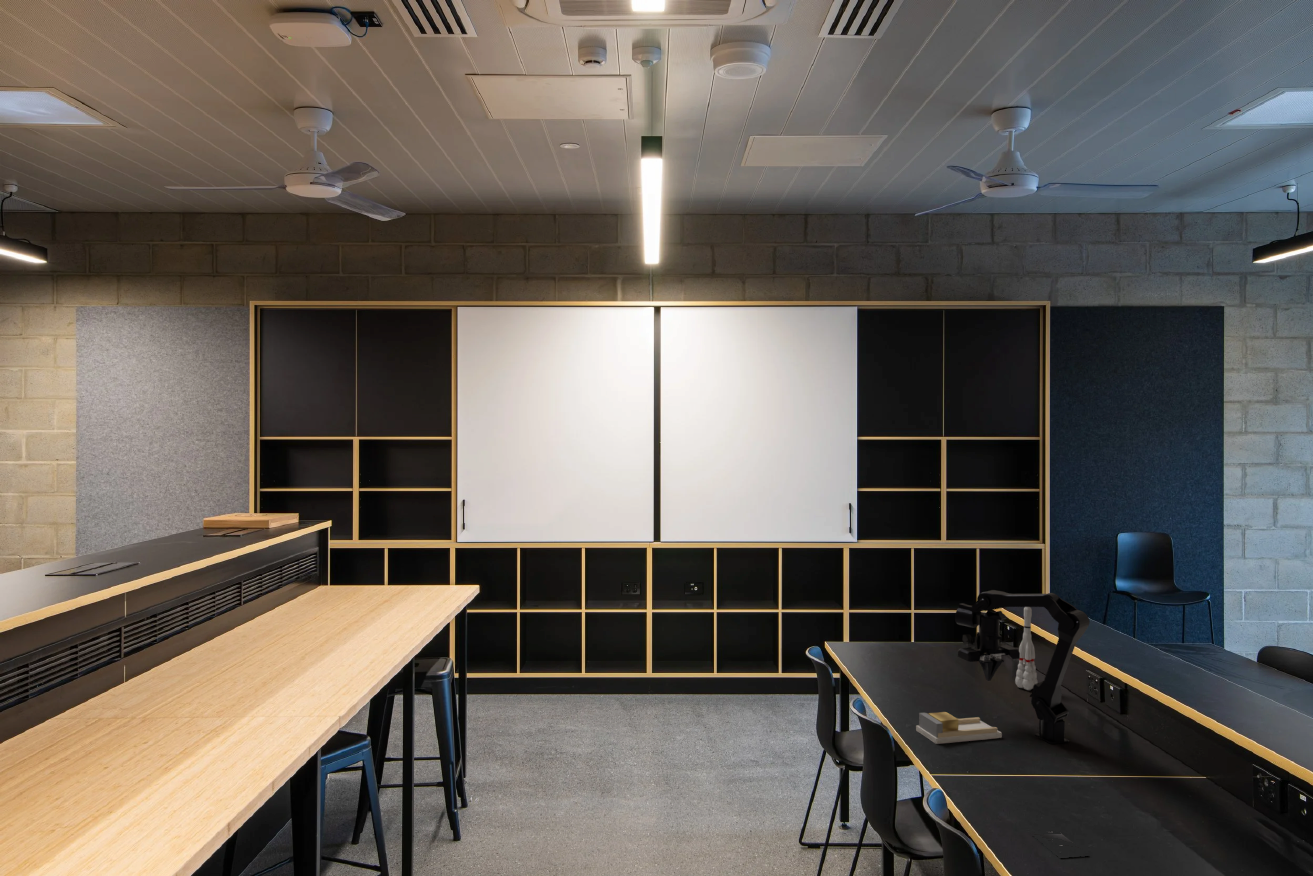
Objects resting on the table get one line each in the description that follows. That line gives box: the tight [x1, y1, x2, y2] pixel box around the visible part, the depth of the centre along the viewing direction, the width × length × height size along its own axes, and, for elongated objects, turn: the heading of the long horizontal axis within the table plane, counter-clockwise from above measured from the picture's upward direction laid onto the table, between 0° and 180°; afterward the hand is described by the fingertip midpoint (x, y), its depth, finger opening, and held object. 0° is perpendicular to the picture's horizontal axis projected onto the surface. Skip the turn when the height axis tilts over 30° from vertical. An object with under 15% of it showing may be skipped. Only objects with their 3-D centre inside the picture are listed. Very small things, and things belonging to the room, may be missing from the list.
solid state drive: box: [1033, 830, 1082, 849], centre depth 165 cm, size 7×10×1 cm
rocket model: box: [1014, 607, 1039, 691], centre depth 268 cm, size 7×7×30 cm
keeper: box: [927, 711, 959, 732], centre depth 224 cm, size 6×6×4 cm
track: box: [915, 712, 1003, 745], centre depth 225 cm, size 22×10×6 cm, turn 104°
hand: (988, 680), depth 238 cm, fingers closed
